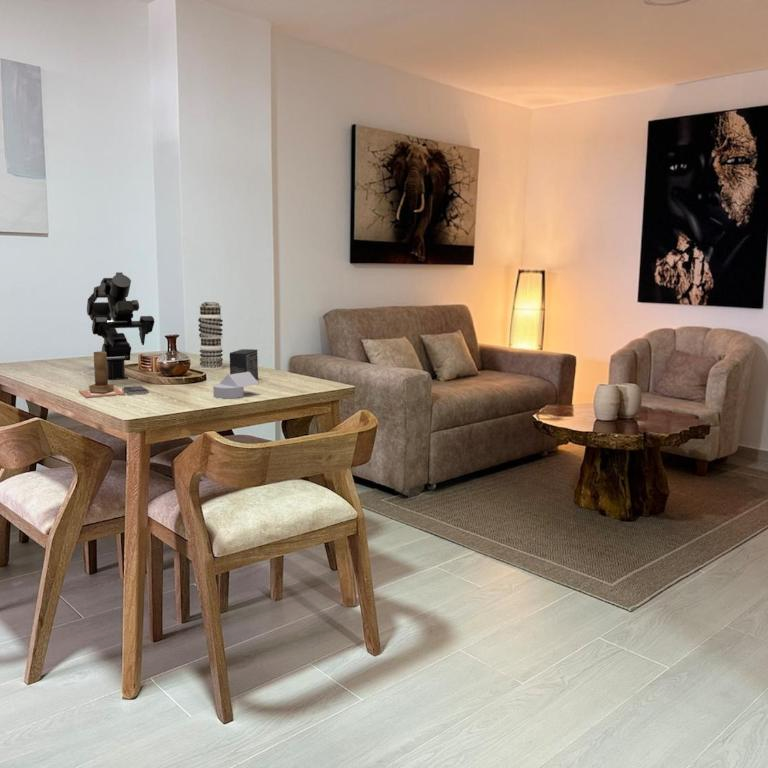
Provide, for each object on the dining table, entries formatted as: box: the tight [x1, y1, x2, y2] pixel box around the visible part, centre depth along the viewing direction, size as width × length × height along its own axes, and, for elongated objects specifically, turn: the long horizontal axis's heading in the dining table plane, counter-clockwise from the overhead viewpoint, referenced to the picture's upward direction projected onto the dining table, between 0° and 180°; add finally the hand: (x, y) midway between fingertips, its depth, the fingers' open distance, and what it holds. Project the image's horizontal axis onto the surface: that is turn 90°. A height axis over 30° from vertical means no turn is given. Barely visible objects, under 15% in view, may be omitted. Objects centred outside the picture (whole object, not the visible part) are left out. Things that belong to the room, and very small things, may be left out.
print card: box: [78, 387, 126, 399], centre depth 222 cm, size 11×11×1 cm
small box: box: [229, 348, 259, 380], centre depth 250 cm, size 11×6×10 cm, turn 168°
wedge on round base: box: [213, 372, 260, 400], centre depth 223 cm, size 9×7×13 cm
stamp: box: [88, 351, 115, 394], centre depth 222 cm, size 5×5×12 cm
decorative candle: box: [197, 301, 224, 371], centre depth 276 cm, size 9×9×25 cm
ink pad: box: [122, 385, 150, 396], centre depth 225 cm, size 8×6×1 cm
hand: (128, 345), depth 232 cm, fingers open, 9 cm apart
